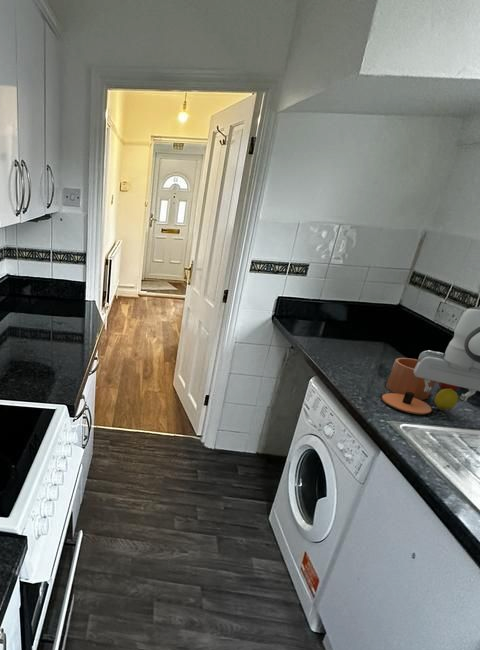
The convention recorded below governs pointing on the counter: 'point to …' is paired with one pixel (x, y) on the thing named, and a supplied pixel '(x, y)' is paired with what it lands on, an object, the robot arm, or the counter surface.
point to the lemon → (446, 399)
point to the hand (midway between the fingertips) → (444, 395)
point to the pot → (407, 379)
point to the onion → (448, 386)
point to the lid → (406, 403)
